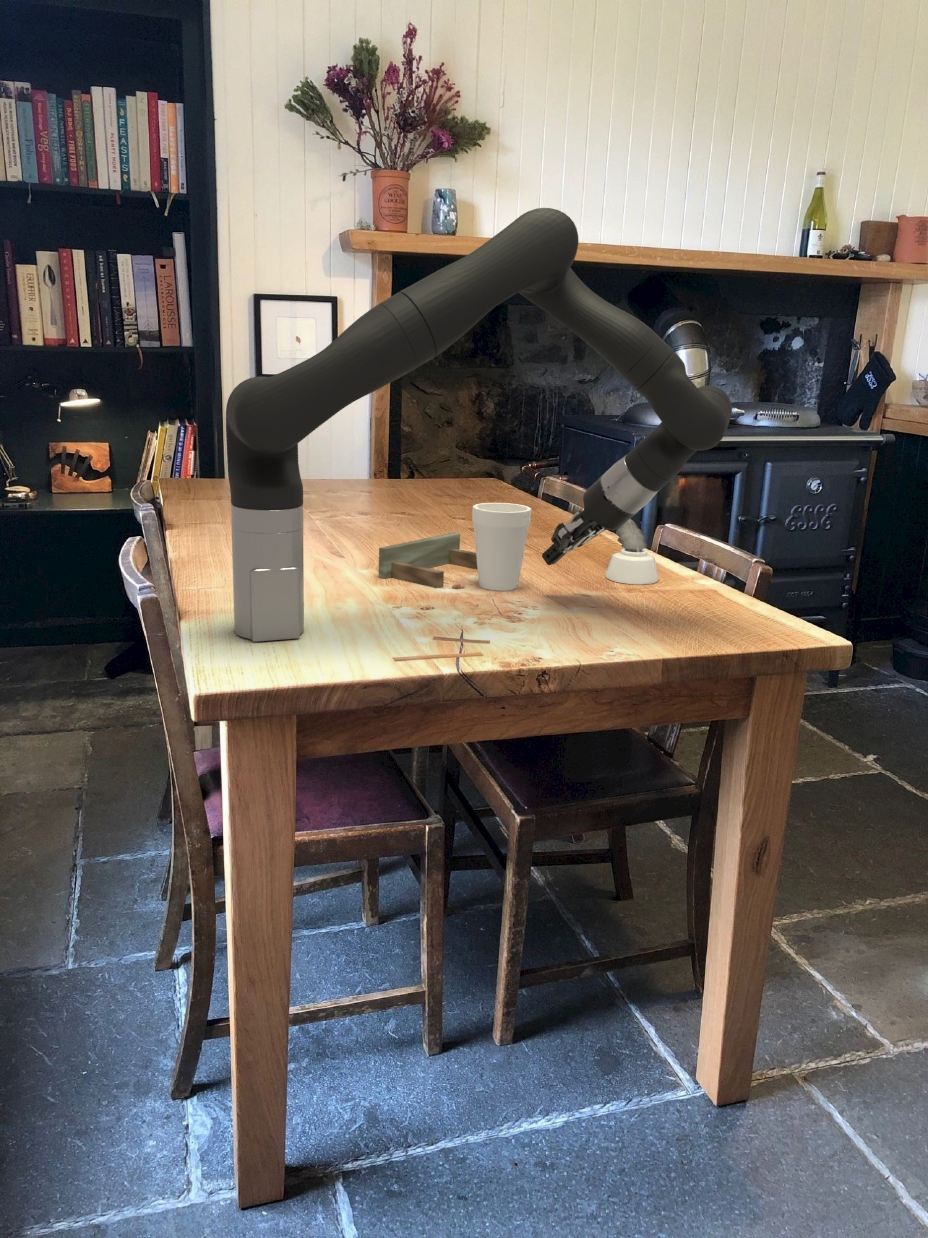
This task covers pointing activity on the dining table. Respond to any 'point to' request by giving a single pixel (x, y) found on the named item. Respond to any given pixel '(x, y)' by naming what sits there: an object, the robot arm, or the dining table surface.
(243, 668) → the dining table surface
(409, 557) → the dock
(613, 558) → the inkwell
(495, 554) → the foam cup
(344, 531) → the dining table surface
